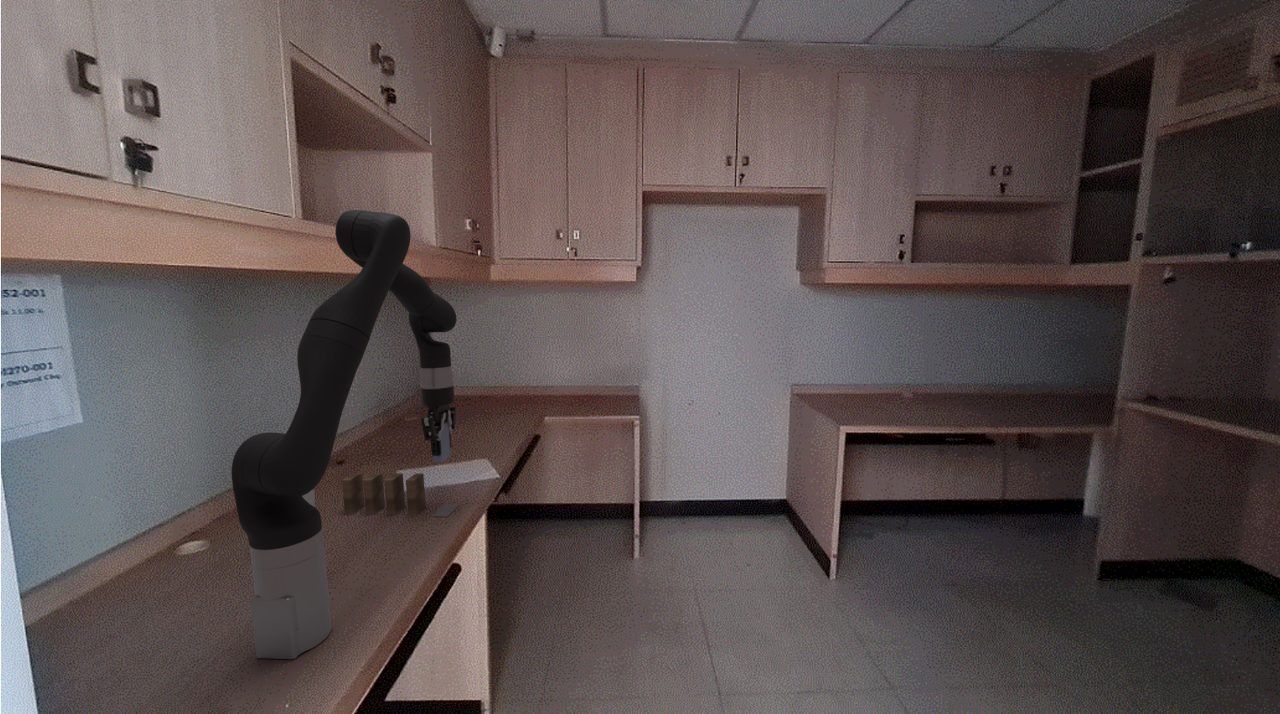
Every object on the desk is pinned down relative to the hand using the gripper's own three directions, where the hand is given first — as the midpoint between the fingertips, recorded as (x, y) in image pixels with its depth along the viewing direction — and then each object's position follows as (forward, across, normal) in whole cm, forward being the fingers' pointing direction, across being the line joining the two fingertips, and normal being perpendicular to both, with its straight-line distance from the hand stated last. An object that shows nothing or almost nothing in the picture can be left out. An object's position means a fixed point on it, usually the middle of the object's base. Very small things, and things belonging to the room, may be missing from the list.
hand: (441, 451), depth 125 cm
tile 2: (+16, 0, +8) cm, 17 cm away
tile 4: (+16, 0, +18) cm, 24 cm away
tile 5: (+16, 0, +24) cm, 29 cm away
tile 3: (+16, 0, +13) cm, 20 cm away
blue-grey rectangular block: (+2, 0, 0) cm, 2 cm away
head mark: (+16, 0, 0) cm, 16 cm away
